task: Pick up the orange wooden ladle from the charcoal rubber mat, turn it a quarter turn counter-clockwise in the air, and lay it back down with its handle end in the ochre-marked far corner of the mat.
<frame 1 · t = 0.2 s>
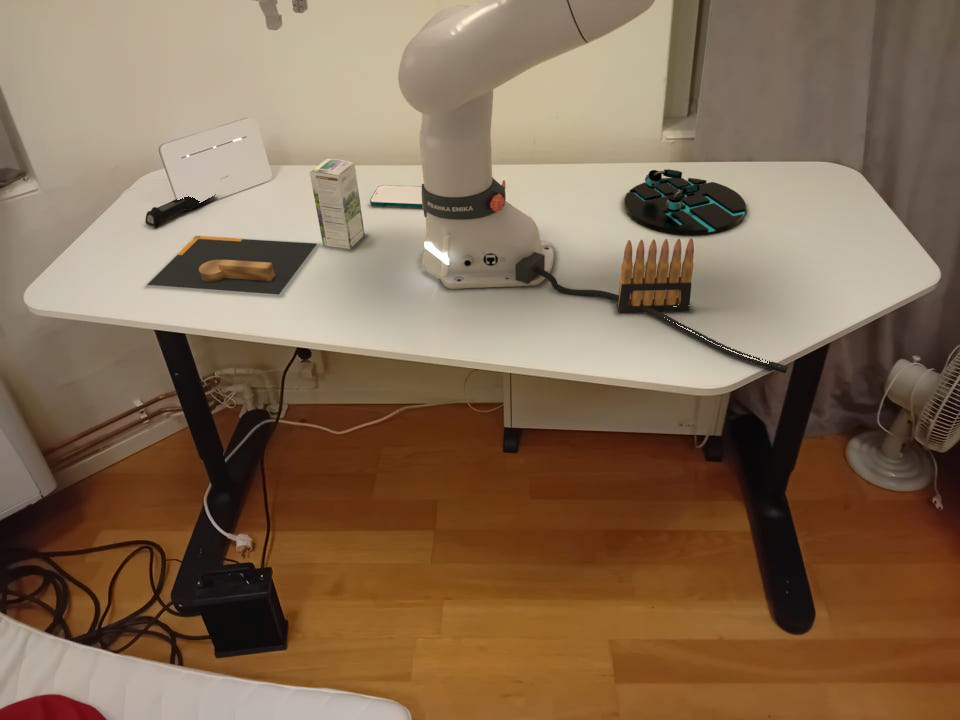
hand: (288, 20, 109), 39 cm above the table, tool pointing down, fingers open, 8 cm apart
orange wooden ladle: (273, 278, 125), resting on mat
platform: (683, 208, 140), on the table
ammunition clip: (652, 310, 114), on the table
smartphone: (413, 199, 148), on the table
syrup box: (345, 242, 136), on the table
electric trimmer: (182, 212, 149), on the table
mat: (235, 265, 130), on the table
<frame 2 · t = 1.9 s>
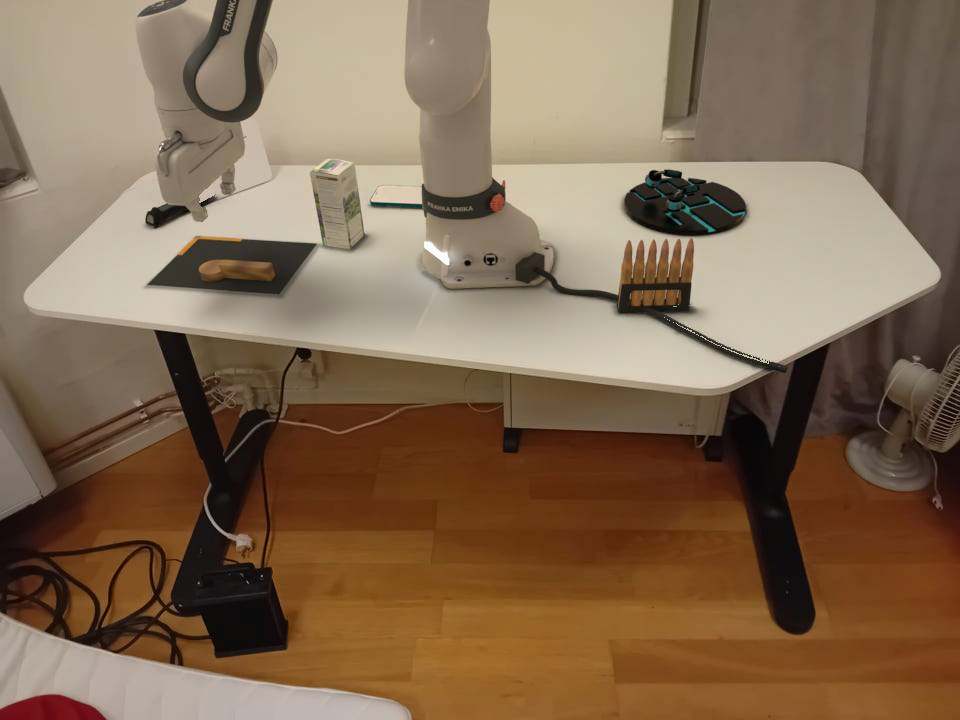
hand: (215, 206, 119), 13 cm above the table, tool pointing down, fingers open, 8 cm apart
nothing on the table moved.
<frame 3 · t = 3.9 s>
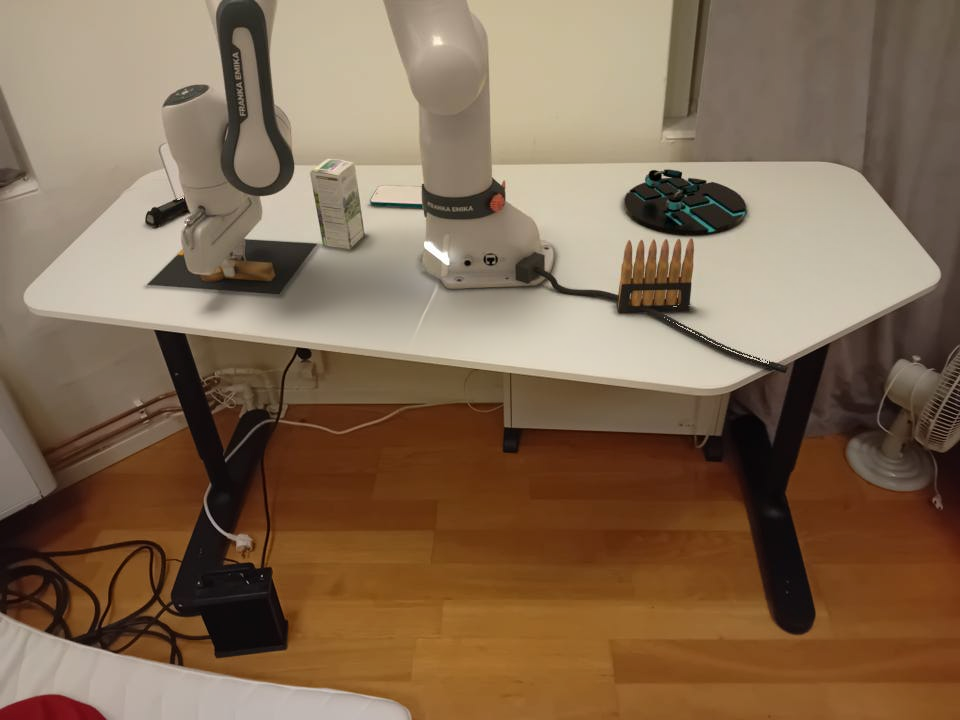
hand: (236, 269, 126), 2 cm above the table, tool pointing down, fingers closed on orange wooden ladle, 2 cm apart
orange wooden ladle: (273, 278, 125), resting on mat, touching gripper
everything else where it was.
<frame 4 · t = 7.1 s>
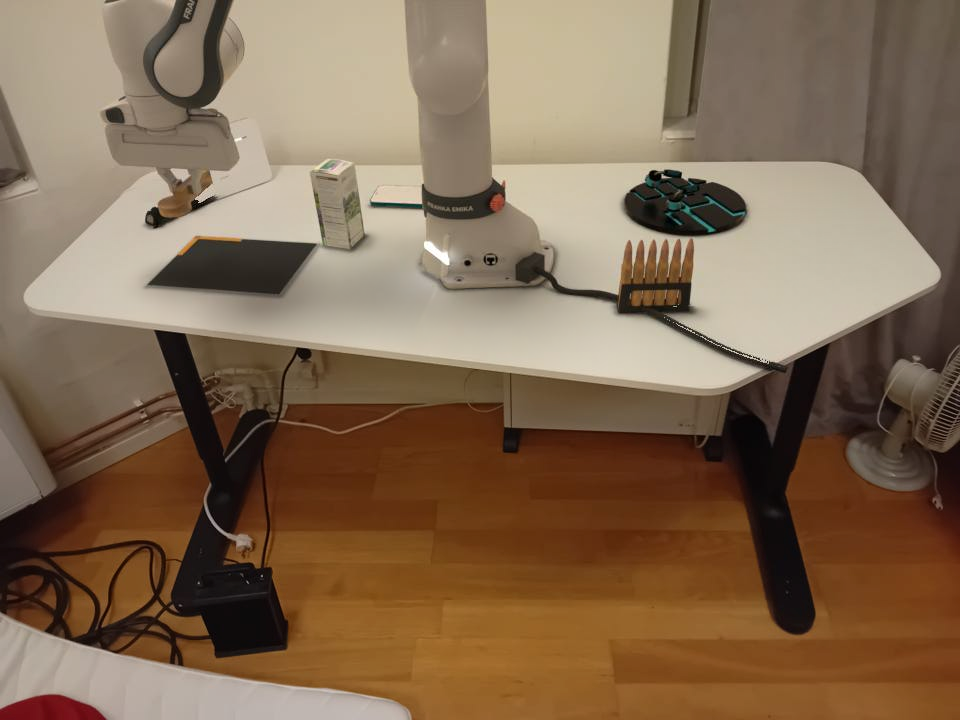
hand: (186, 192, 120), 15 cm above the table, tool pointing down, fingers closed on orange wooden ladle
orange wooden ladle: (208, 182, 126), point 13 cm above the table, touching gripper
everything else where it was.
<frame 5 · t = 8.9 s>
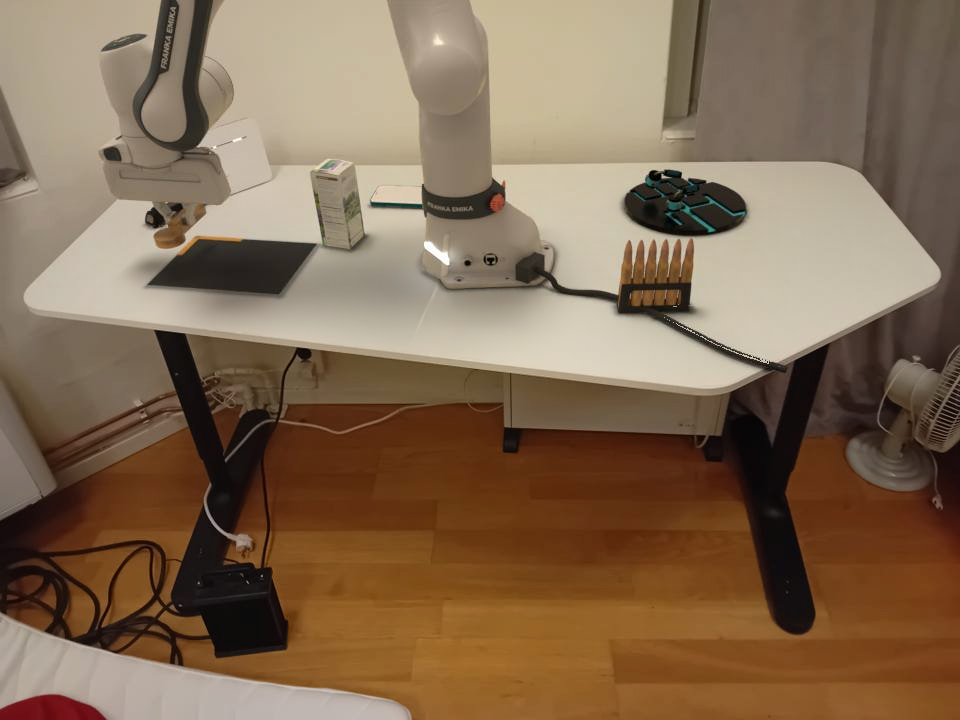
hand: (181, 223, 127), 8 cm above the table, tool pointing down, fingers closed on orange wooden ladle
orange wooden ladle: (202, 213, 132), point 7 cm above the table, touching gripper
everything else where it was.
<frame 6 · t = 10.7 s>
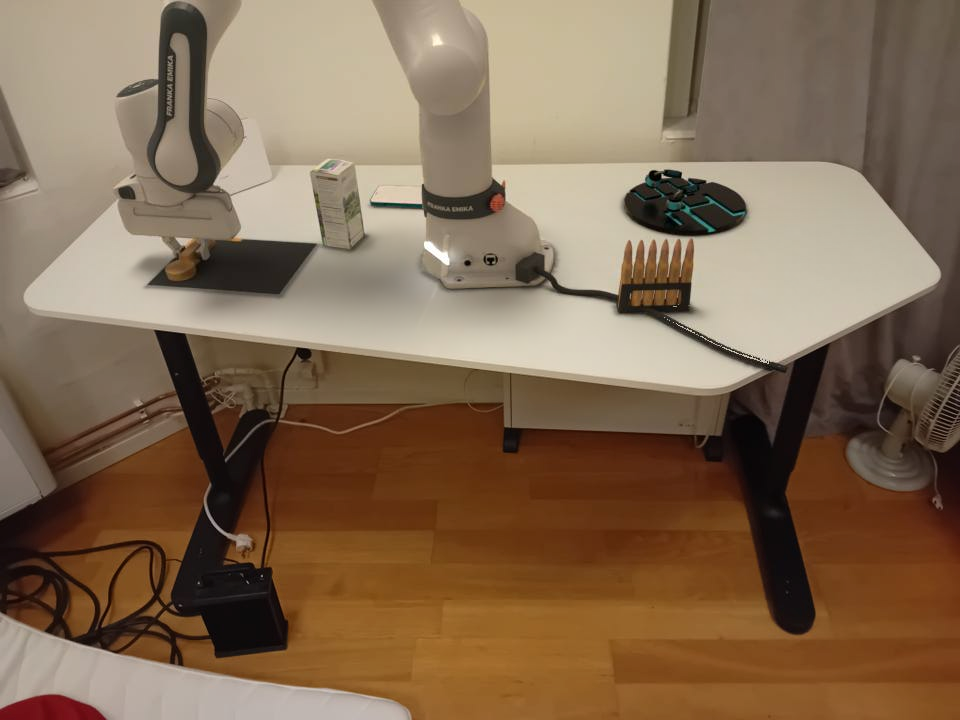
hand: (192, 257, 131), 1 cm above the table, tool pointing down, fingers open, 3 cm apart
orange wooden ladle: (211, 244, 136), resting on mat
everything else where it was.
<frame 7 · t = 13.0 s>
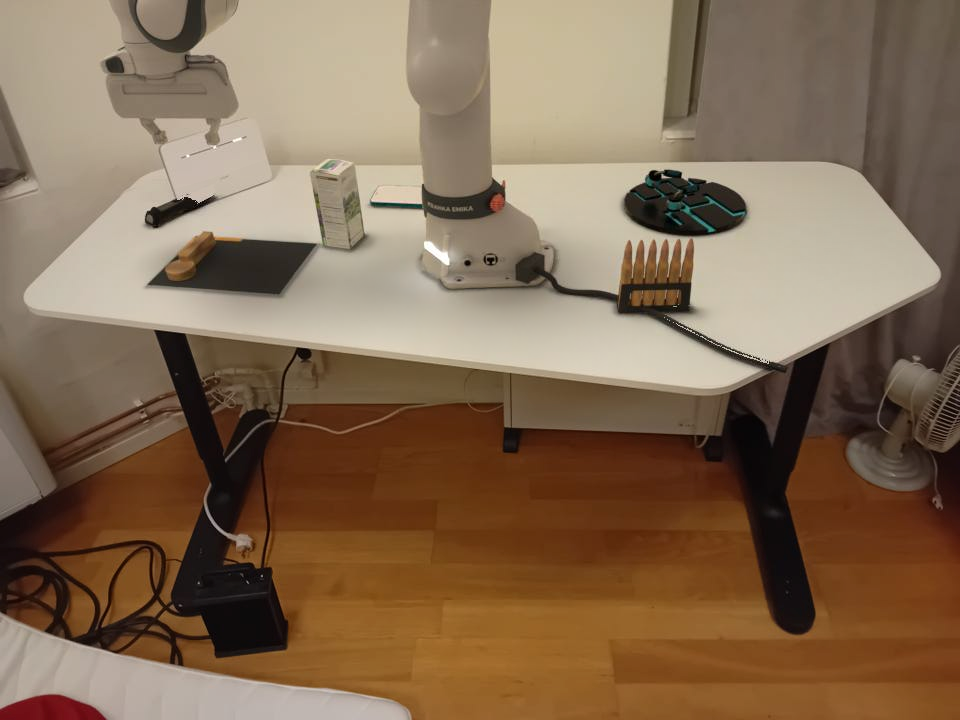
hand: (187, 143, 122), 20 cm above the table, tool pointing down, fingers open, 8 cm apart
nothing on the table moved.
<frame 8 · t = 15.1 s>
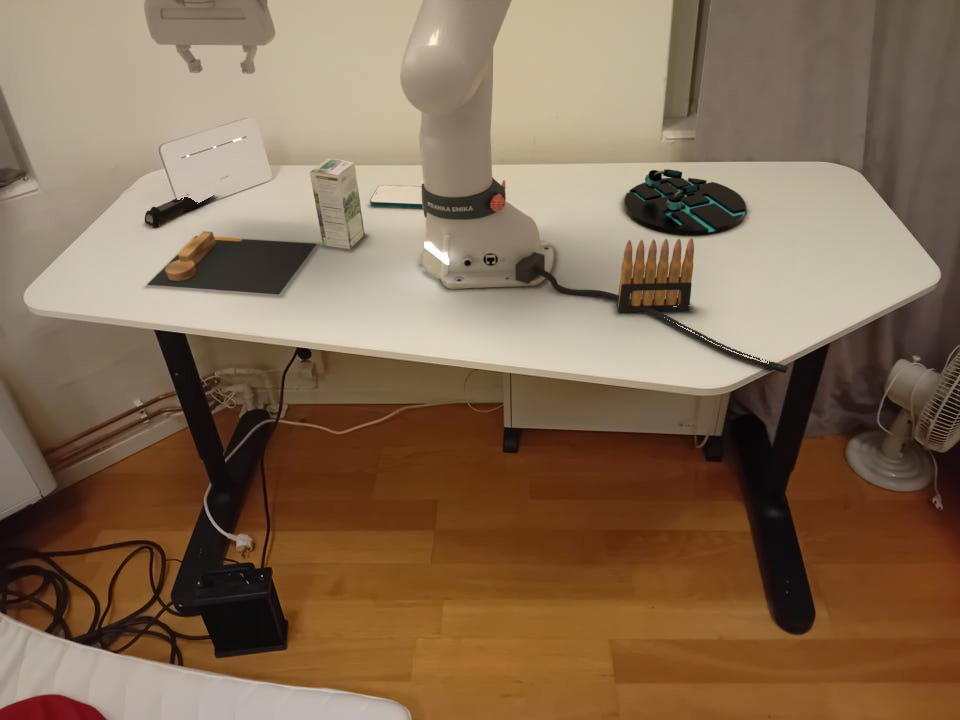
hand: (222, 72, 122), 29 cm above the table, tool pointing down, fingers open, 8 cm apart
nothing on the table moved.
at the end: orange wooden ladle 0.2 cm from the target spot, resting on mat; orange wooden ladle tilted 0°; the gripper is holding nothing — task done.
